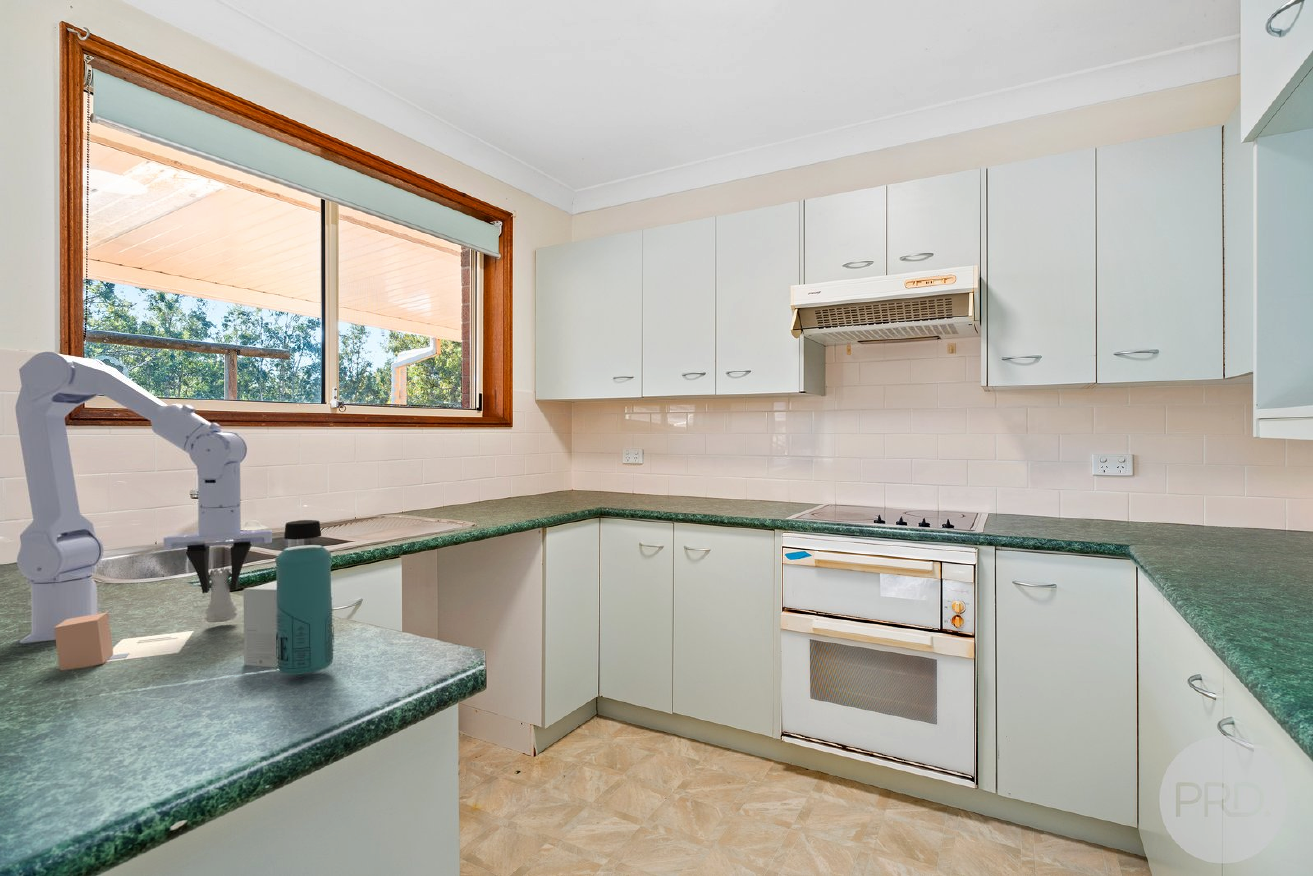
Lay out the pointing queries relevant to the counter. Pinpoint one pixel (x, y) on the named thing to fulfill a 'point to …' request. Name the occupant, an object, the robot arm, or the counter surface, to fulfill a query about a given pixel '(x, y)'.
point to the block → (83, 641)
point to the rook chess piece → (220, 597)
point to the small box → (260, 625)
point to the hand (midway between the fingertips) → (220, 590)
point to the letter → (149, 646)
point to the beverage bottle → (304, 603)
